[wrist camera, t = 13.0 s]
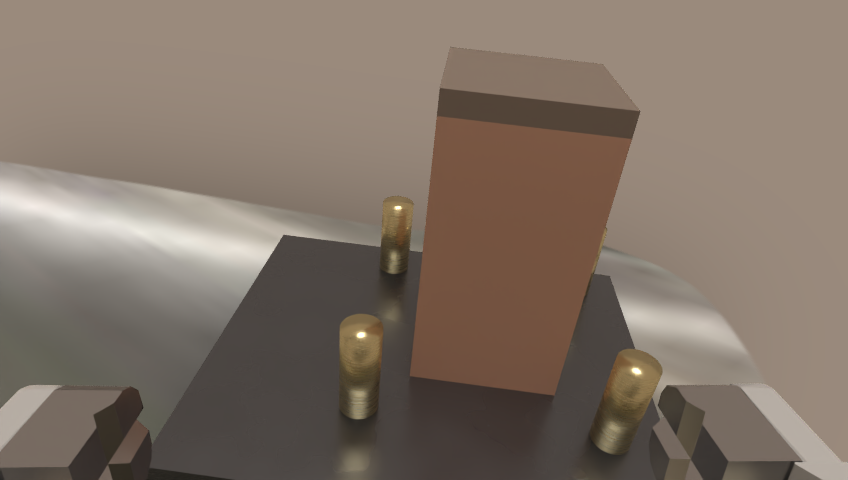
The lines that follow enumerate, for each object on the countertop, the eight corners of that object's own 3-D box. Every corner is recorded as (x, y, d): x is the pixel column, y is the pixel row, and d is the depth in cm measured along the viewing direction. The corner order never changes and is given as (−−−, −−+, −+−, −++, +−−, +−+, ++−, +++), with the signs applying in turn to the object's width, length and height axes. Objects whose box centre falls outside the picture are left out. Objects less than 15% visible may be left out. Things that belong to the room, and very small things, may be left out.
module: (409, 376, 21) (439, 88, 15) (423, 291, 25) (450, 46, 20) (554, 395, 21) (640, 111, 15) (541, 306, 25) (602, 64, 20)
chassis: (145, 490, 17) (115, 383, 15) (284, 254, 29) (280, 173, 27) (690, 568, 17) (752, 471, 14) (603, 294, 29) (628, 216, 26)
